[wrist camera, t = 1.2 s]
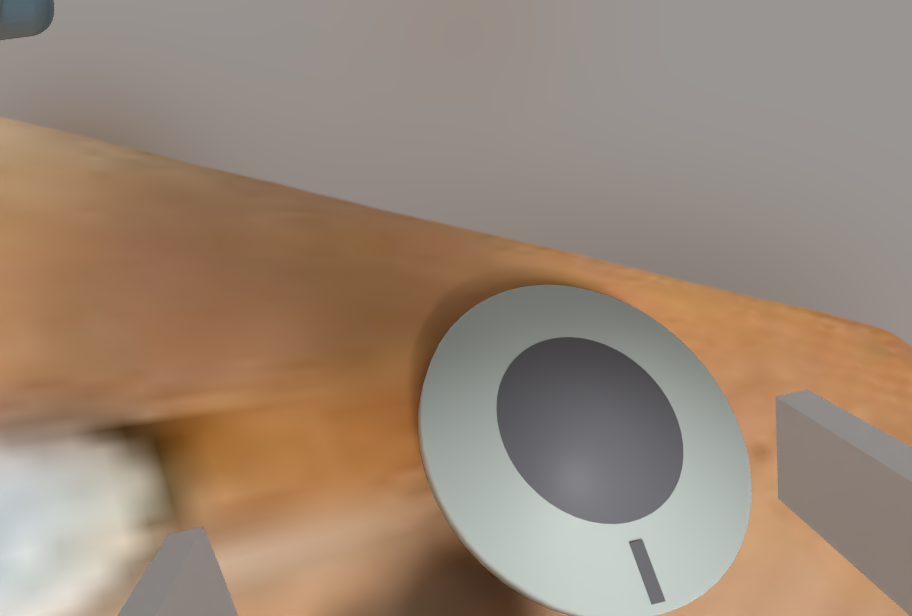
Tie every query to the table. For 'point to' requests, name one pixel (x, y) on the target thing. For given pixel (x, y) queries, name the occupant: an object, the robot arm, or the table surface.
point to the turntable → (583, 453)
